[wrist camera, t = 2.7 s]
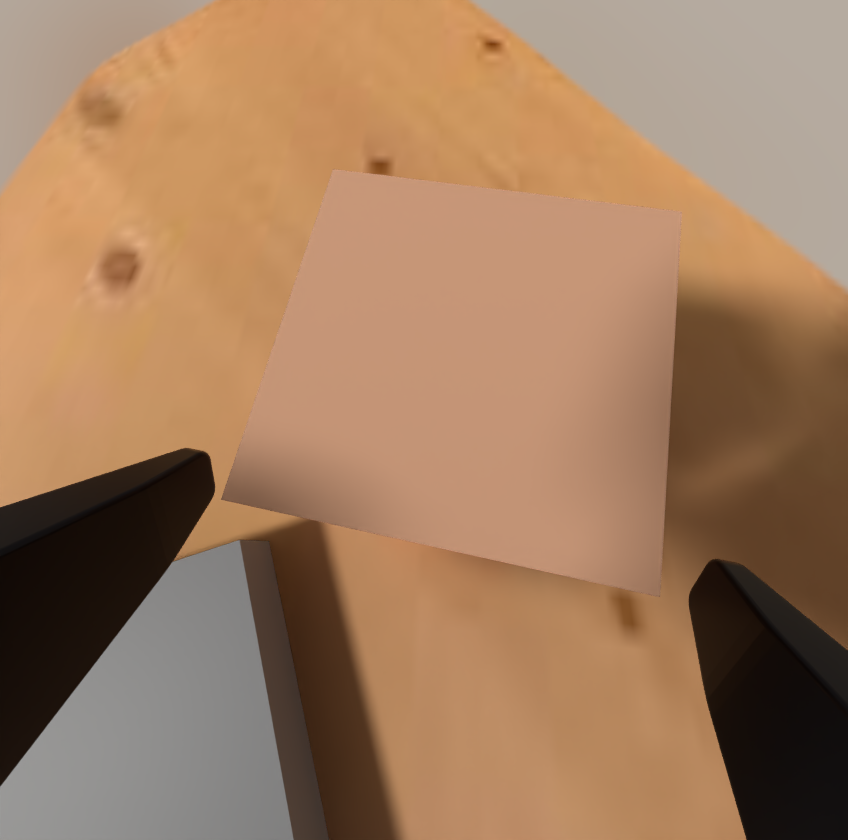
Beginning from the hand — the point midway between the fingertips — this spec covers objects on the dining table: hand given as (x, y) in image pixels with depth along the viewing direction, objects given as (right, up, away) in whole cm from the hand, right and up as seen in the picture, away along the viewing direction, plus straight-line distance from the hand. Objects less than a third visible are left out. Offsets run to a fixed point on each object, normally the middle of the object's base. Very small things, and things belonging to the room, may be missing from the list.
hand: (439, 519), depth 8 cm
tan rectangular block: (+1, -1, +10) cm, 10 cm away
